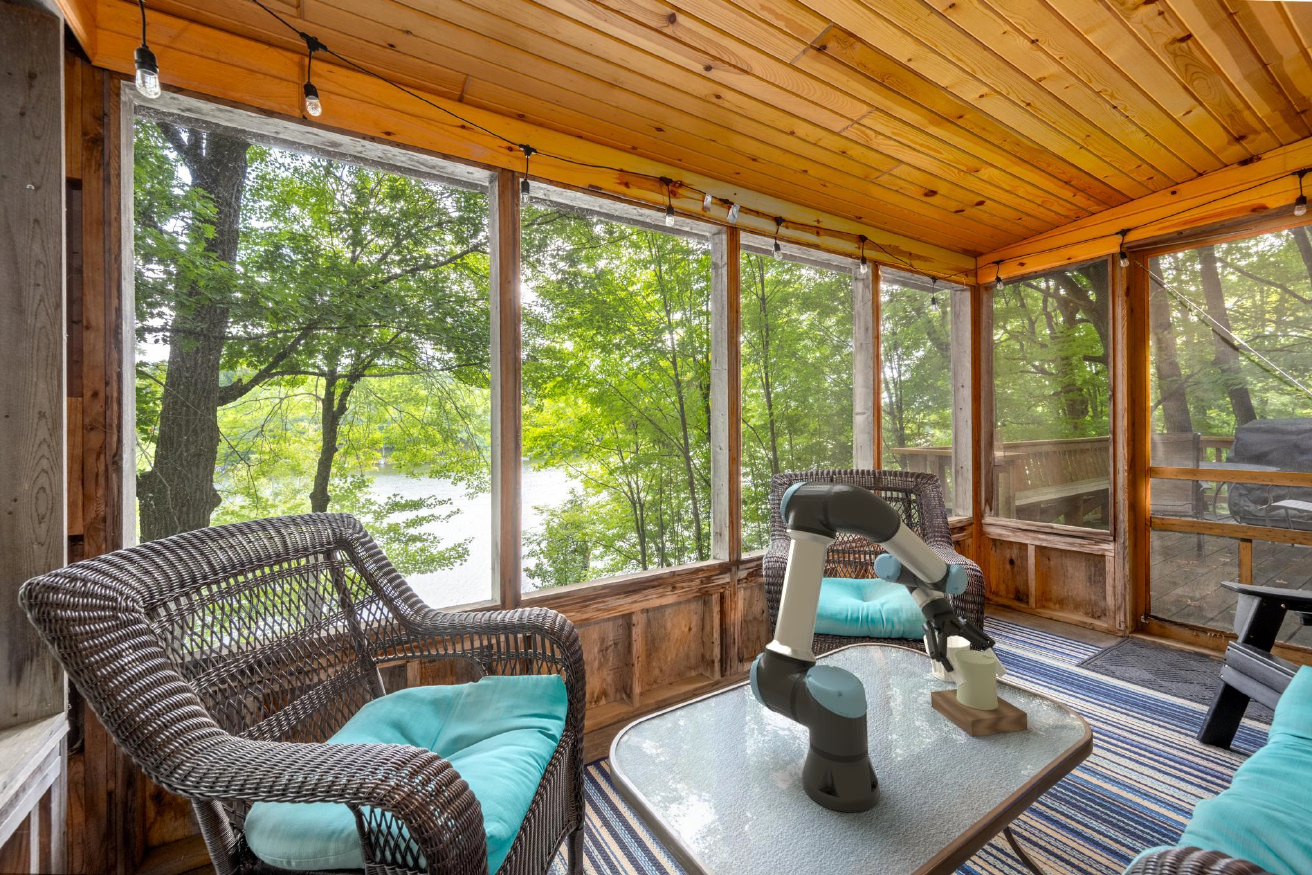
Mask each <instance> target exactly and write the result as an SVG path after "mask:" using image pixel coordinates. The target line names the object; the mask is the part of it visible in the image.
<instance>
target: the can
mask: <svg viewBox="0 0 1312 875" xmlns="http://www.w3.org/2000/svg"><path fill="white" fill-rule="evenodd" d="M955 660H956V666H957V667H958V669H959V670H960V672H961V673H962V675H963V677H964V678H965V680H966V681H967V682H965V683H964V684H963V685H961V686H959V687H958V686H957V685H956V689H957V696H956V698H957V700H958V701H959V702H960V703H961V704H963V705H965V706H967V707H970V708H973V709H978V710H994V709H996V708H997V707H998V701H997V696H998V687H997V673H996V659H995V657H993V656H992V655H990V654H987V653H984V651H980V650H975V649H974V650H973V649H970V650H960V651H957V652H956V653H955Z"/></svg>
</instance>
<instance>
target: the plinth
mask: <svg viewBox="0 0 1312 875" xmlns="http://www.w3.org/2000/svg"><path fill="white" fill-rule="evenodd" d="M956 696H957V688H954V689H946V690H934V691H930V702H931V703H930V705H931V708H932V709H933V710H935V711H936V712H938V713H939V714H940V715H942V716H943V717H945V718H946V719H947V720H948V721H949V722H952V723H953V724H954V725H955V726H957V727H958V728H959V729H960V730H962V731H963V732H965V733H966V734H968V735H969V736H970V737H972V738H973V737H982V736H988V735H989V736H990V735H996V734H997V735H998V734H1003V733H1004V734H1006V733H1013V732H1021V731H1028V729H1029V728H1028V713H1027V712H1026V711H1024V710H1023V709H1020V708H1019V707H1017V706H1016V705H1013V704H1012V703H1010V702H1008V701H1007V700H1005V699H1004V698H1003V697H1000V696H999V695H997V701H998V707H997V708H996V709H994V710H978V709H973V708H970V707H967V706H965V705H963V704H961V703H960V702H959V701H958V700H957V698H956Z"/></svg>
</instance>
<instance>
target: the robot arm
mask: <svg viewBox="0 0 1312 875" xmlns="http://www.w3.org/2000/svg"><path fill="white" fill-rule="evenodd" d="M780 515H782V516H781V519H782V521H783V523H785V525H786V533H787V535H788V536H789V537H790V544H789V551H788V556H787V557H788V558H787V564H786V569H785V573H784V578H783V579H784V580H783V586H782V590H781V595H780V596H781V597H780V603H779V608H778V609H779V610H778V613H777V620H776V623H775V624H776V625H775V631H774V636H773V640H772V641H771V642H769V643H767V644H766V645H765V650H764V652H761V653H759V654H758V655H757V656H756V658H755V659H756V660H754V661H753V662H752V664H751V667H750V672H749V685H750V690H751V693H752V694H753V696H754V698H755V699H756V701H757V702H758V703H760V704H761V705H762V706H763V707H766V708H767V709H768V710H769V711H771V712H773V713H777V714H779V715H781V716H783V717H785V718H788V719H790V720H791V721H793V722H795V723H798V724H799V725H802V726H804V727H805V728H807V729H808V737H809V740H808V741H809V748H808V750H807V751H808V752H807V754H806V759H805V761H804V765H803V769H802V786H803V790H804V791H805V793H806V795H807V796H808V797H809V798H810V799H812V801H814V802H816V803H817V804H818V805H821V806H822V807H824V808H828V809H830V810H834V811H837V812H843V813H859V812H864V811H867V810H869V809H871V808H873V807H874V806H875V805H877V803H878V802H879V799H880V784H879V780H878V776H877V774H876V772H875V768H874V766H873V762H872V760H871V757H870V754H869V741H868V740H869V738H868V737H869V735H868V712H867V710H868V702H867V701H868V700H867V698H866V697H867V696H866V691H865V690H866V689H865V687H864V684H863V682H862V681H861V680H860V678H859V677H858V676H856V675H855V674H854V673H853V672H851V671H849V670H848V669H844V668H842V667H840V666H835V665H833V666H830V665H829V664H819V665H817V658H816V656H815V655H814V653H813V650H812V647H813V640H814V635H815V634H814V633H815V628H816V627H815V626H816V621H817V614H818V609H819V604H820V597H821V591H822V590H821V589H822V584H823V578H824V571H825V565H826V560H827V559H826V558H827V554H828V553H827V552H828V548H829V547H830V546H831V545H832V544H834V543H835V542H836V540H837V539H836V538H837V533H838V534H848V535H854V536H857V537H862V538H864V539H866V541H868V542H869V543H872V544H875V545H879V546H880V547H882V549H884V550H885V551H886V552H887V553H882V554H880V555H878V556H877V557H876V559H875V560H874V564H873V570H874V573H875V575H876V576H877V578H878V579H880V580H882V581H885V582H887V583H893V584H898V585H902V586H904V587H905V589H906V590H907V591H908V593H909V595H910V596H911V597H912V599H913V601H914V602H915V604H916V605H917V607H918V608H919V609H921V613H922V615H923V617H925V619H926V621H925V622H924V623H923V624H922V625H921V627H922V629H923V631H924V633H925V635H926V638H927V643H928V649H929V654H930V656H929V658H931V659H932V660H934V659H936V661H937V662H941V663H942V665H943V666H944V668H945V669H946V671H947V672H948V673H950V674H951V676H952V678H953V679H954V681H955V682H954V683H955V684H956V687H957V686H958V687H959V686H961V685H963V684H964V683H965V682H967V681H966V680H965V678H964V677H963V675H962V673H961V672H960V670H959V669H958V667H957V666H956V664H955V663H954V661H953V659H952V658H951V656H948V657H946V656H947V637H950V636H956V635H957V636H959V637H963V638H964V639H966V640H968V641H969V642H970V644H972V645H974V646H975V647H977V648H979V649H980V650H982V652H984V653H987V654H990V655H992V656H993V657H995V659H996V676H998V677H999V678H1002V677H1003V676H1004V675H1006V674H1007V673H1008V670H1007V669H1006V667H1005V666H1004V665H1003V663H1002V662H1001V661H1000V660H1001V658H1000V656H999V655H998V654H997V653H996V651H995V650H994V648H993V647H994V646H995V645H996V644H997V643H996V641H995V640H994V639H993V638H992V637H990V635H988V634H987V633H986V632H984V631H983V630H982V629H981V628H980V627H978V625H976V624H975V623H973V621H971V620H970V617H968V615H967V614H964V613H962V615H961V616H959V617H958V616H957V615H956V614H955V612H954V607H953V606H952V605H951V603H950V602H949V600H948V599H947V598H946V597H945V594H947V595H948V594H951V595H957V596H958V595H962V594H963V593H965V591H966V589H967V585H968V580H969V579H968V573H967V570H966V569H965V567H964V566H963V565H959V564H955V563H949V562H946V561H945V560H944V559H943V558H942V557H941V556H940V555H938V553H936V552H935V551H934V550H933V549H932V548H931V547H930V546H929V545H928V544H927V543H925V542H924V541H923V540H922V539H921V537H919V536H918V535H917V534H916V533H915V532H914V531H912V530H911V529H910V528H909V526H907V525H906V524H905V523H904V522H903V521H902V517H901V514H900V513H899V511H897V509H895V508H894V507H893V506H892V505H891V504H890V503H888V501H886V500H884V499H883V498H882V497H880V496H878V495H877V494H876V493H874V492H872V491H870V490H868V489H866V488H865V487H863V486H859V485H857V484H853V483H850V482H849V483H848V482H847V483H846V482H841V483H839V482H825V481H811V480H810V481H800V482H796V483H794V484H792V485H791V486H790V487H788V489H787V490H786V491H785V492H784V494H783V496H782V499H781V502H780ZM944 593H945V594H944ZM935 633H937V638H938V644H937V639H936V634H935ZM931 659H930V660H931Z"/></svg>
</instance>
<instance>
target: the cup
mask: <svg viewBox="0 0 1312 875" xmlns="http://www.w3.org/2000/svg"><path fill="white" fill-rule="evenodd" d="M935 634H936V639H937V644H938V638H937V632H935ZM923 642H924V647H925V652H926V653H927V654H928V656H929V658H930V654H929V649H928V643H927V638H926V634H925V635H923ZM960 650H971V642H969V641H968V640H966V639H964V638H963V637H959V636H957V635H956V636H950V637H947V656H946V657H948V656H951V658H952V659H953V661H954V663H955V664H956V660H955V653H956V652H957V651H960ZM929 660H930V662H931V667H932V668H931V669H932V676H933V677H934V678H935V679H937V680H939V681H942V682H947V683H956V682H955V681H954V679H953V678H952V676H951V674H950V673H948V672H947V671H946V669H945V668H944V666H943V665H942V663H941V662H937V661H936V659H934V660H932V659H931V658H930V659H929Z"/></svg>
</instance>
